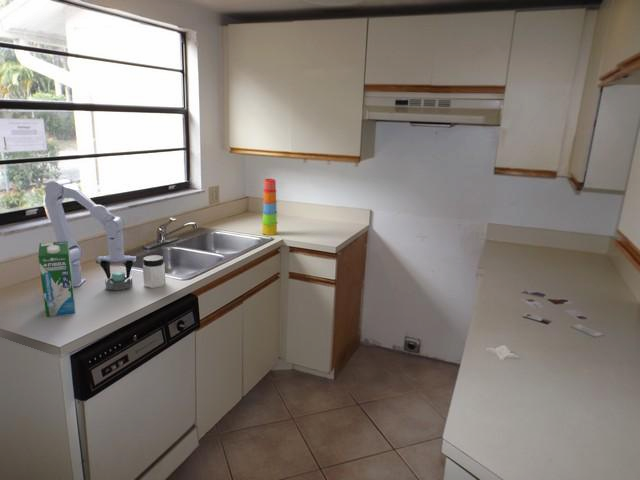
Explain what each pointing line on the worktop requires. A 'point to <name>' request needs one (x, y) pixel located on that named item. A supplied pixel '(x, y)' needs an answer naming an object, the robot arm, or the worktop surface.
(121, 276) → the mint green cube
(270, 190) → the stacking cups
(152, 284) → the jar
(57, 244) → the milk carton
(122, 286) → the barrel ring
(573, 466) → the worktop surface
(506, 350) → the acanthus leaf ornament
